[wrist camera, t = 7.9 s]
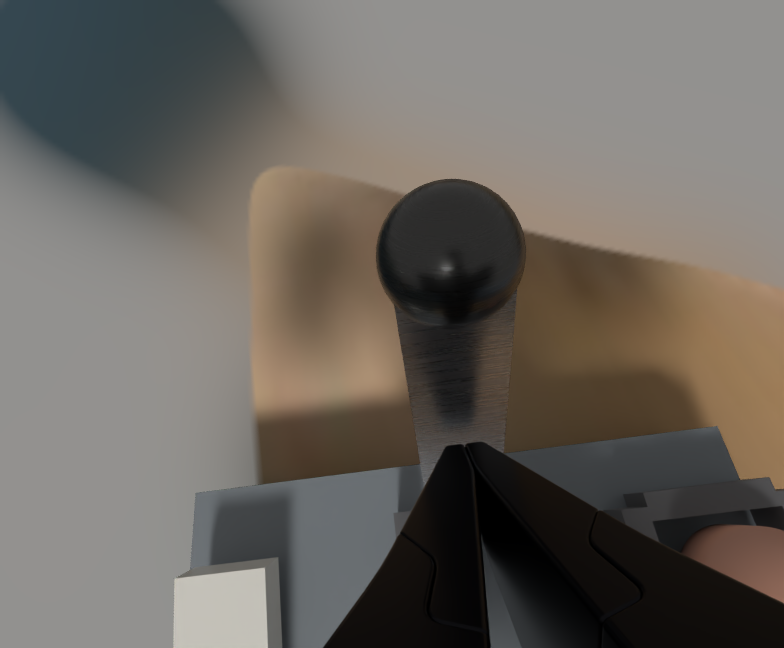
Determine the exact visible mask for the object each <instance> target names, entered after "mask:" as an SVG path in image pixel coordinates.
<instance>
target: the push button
mask: <svg viewBox="0 0 784 648" xmlns="http://www.w3.org/2000/svg"><path fill="white" fill-rule="evenodd" d="M681 553H682V554H684V555H686V556H688V557H690V558H692V559H694V560H696V561H698V562H700V563H702V564H704V565H706V566H708V567H710V568H712V569H715V570H717V571H719V572H721V573H723V574H725V575H727V576H729V577H731V578H733V579H735V580H737V581H739V582H741V583H743V584H746V585H748V586H750V587H752V588H754V589H756V590H758V591H760V592H762V593H764V594H766V595H768V596H770V597H772V598H774V599H777V600H779V601H781V602H783V603H784V531H783V530H780V529H776V528H771V527H764V526H749V525H731V524H715V525H710V526H706V527H704V528H701V529H700V530H698V531H696V532H695V533H694V534H692V535H691V536H690V537H689V539H688V540H687V541H686V543H685V544H684V546H683V548H682V551H681Z"/></svg>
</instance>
